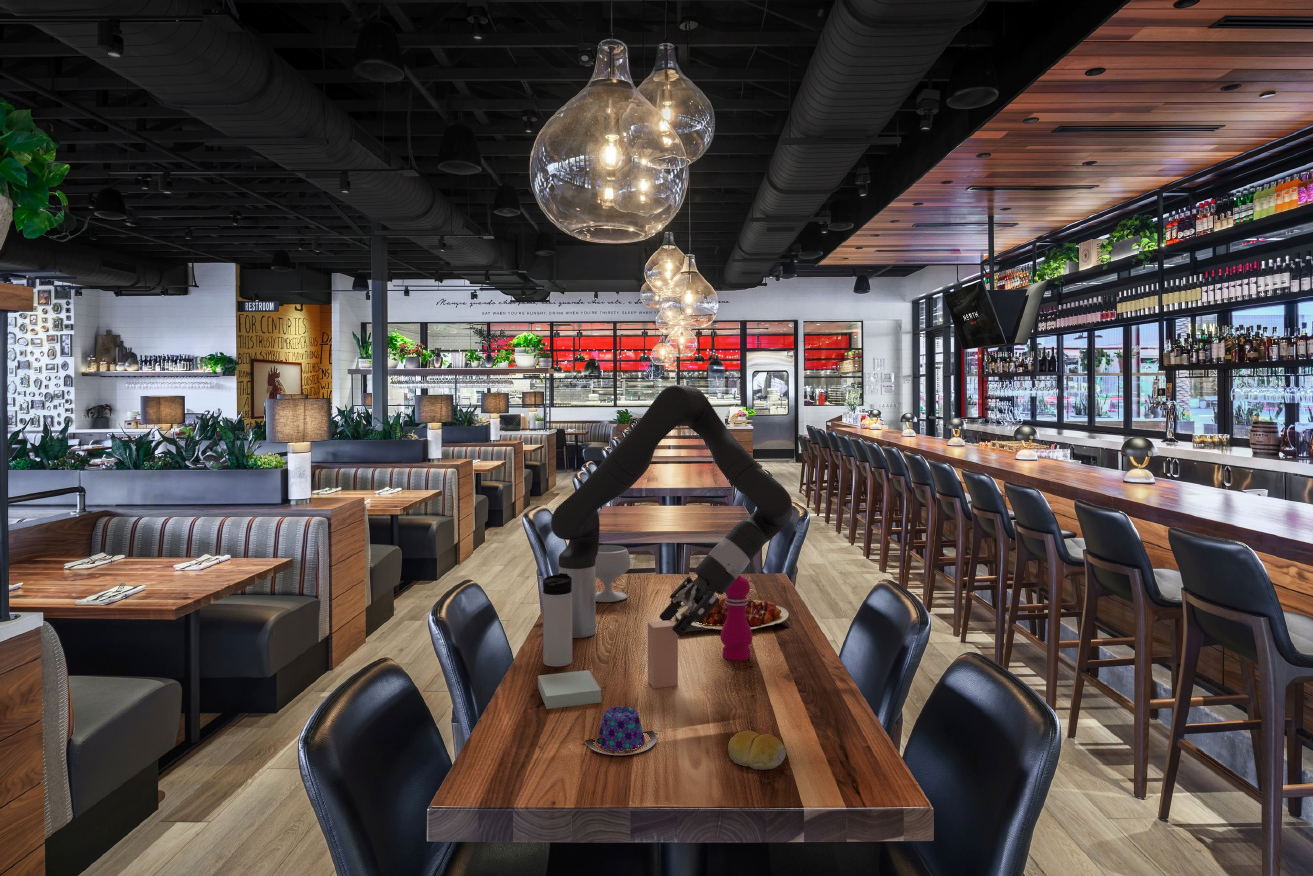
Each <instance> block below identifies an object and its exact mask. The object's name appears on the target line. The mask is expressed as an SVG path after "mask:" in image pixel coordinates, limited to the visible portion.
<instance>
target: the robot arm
mask: <svg viewBox="0 0 1313 876" xmlns="http://www.w3.org/2000/svg"><path fill="white" fill-rule="evenodd" d="M677 427H688V428H690V429H691V431H694V432H695V433H696V434H697V435H698V436H700V438H701V439H702V440H703V441H704V442H705V444H706V445H707V447H708V448H709V451H710V453H711V455H712V458H713V460H714V462H715V464H716V466H717V468H718V469H719V470H720V472H721V473H722V475H723V476H725V478H726V479H727V480H728V481H729V482H730V483H731V484H732V485H733V487H734V488H735V489H736V490H737V491H738V492H740V493H741V494H742V495H745V496H746V497H748V499H749V500H750V501H751V503H753V504H754V506H755V507H756V509H755V510H754V512H752V513H751V514H750V516H749V517H748V518H747V519H746V520H743V519H742V520H741V521H739V522H738V523H737V524H735V526H734V527H732V528H731V530H730V531H729V532H728V533H727V534H726V535H725V537H723V539H722V540H721V541H719V543H717V544H716V545H715V546H714V547H713V548H712V549H711V551H709V553H708V554H706V556H705V557H704V558H703V559H702V560H701V561H700V563H699V564H698V565H697V566H696V567H695V568H694V573H695V574H696V575H697V577H696V578H695V579H694V580H693V579H692V578H691V577H690V576H687V577H686V578H685V580H684V581H682V583H681V584H680V585H679V586H677V588H675V590H674V591H672V592H671V594H670V595H669V598H670V601H669V602H670V603H669V604H668V605H667V607H666V608H665V609H664V610H663V611H662V612H661V613H660V614H659V619H660V621H666V620H672V619H673V618H674V617H675V615H676V613H677V612H678V610H680V609H681V608H683V607H685V606H687V607H688V609H687V611H686V613H685V614H686V615H685V614H684V615H683V616H682V617H681V618H680V619H679V621H678V620H677V622H675V623H676V624H675V625H674V626H673V628H672V629H673V631H674V632H675V633H676V634H677V635H678V637H680V636H682V635H684V633H685V631H686V630H687V628H688V627H689V626H690V625H691V624H692V623H693V622H694V623H695V622H696V621H698V622H699V623H701V622H702V621H703V620H704V619H705V617H706V616H707V615H708V614H709V612H710V611H711V610H712V609H713V608H714V606H715V605H716V604H717V603H718V602H719V598H720V597H718V596H717V595H716V594H718V595H720V596H722V595H724V594H725V591H726V590H727V589H728V588H729V587H730V586H731V584H732V583H733V582H734V581H735V580H736V579H737V578H738V576H741V574H742V573H743V572H744V571H745V569H746V568H747V566H748V565H749V563H750V562H751V561H752V560H753V559H754V558H755V556H756V555H757V554H758V553H759V552H760V551H761V549H762V548H763V547H764V546H765V544H766V543H768V542H769V541H771V540H772V539H773V538H774V537H775V536H777V534H778V533H780V531H782V530H783V529H784V528H785V527H786V526H787V524H788V523H789V522H790V520H791V519H792V514H793V500H792V497H791V495H790V493H789V492H788V490H787V489H786V488H785V487H784V486H783V485H782V484H781V483H780V482H779V481H777V480H776V478H774V477H773V476H771V474H769V473H768V472H766V471H765V470H764V469H763V468H762V467H761V466H760V464H759V462H757V460H756V459H754V458H753V456H751V454H750V453H749V452H748V451H747V450H746V449H745V448H744V447H743V446H742V445H741V443H739V441H738V440H737V439H736V438H735V437H734V435H733V434H732V433H731V432H730V431H729V429H728V428H727V426H726V424H725V423H724V422H723V420H722V419H721V417H720V416H719V415H718V413H717V412H716V410H715V409H714V406H713V405H712V404H711V402H710V401H709V399H708V397H707V396H706V395H705V393H704V392H702V390H700V389H699V388H697V387H696V386H695V387H694V386H691V385H684V384H671V385H668V386H666V387H664V389H663V390H661V392H659V394H658V395H657V396H656V397H655V399H654V400H653V401H652V403H651V404H650V406H649V407H648V409H646V411H645V412H644V414H643V416H641V418H640V420H639V421H638V422H637V423H636V424H635V425H634V426H633V428H631V430H629V432H628V433H627V434H626V435H625V436H624V437H623V438H622V440H621V441H620V442H619V443H618V444H617V445H616V446H615V447H614V448H613V449H612V450H611V451H610V452H609V454H607V456H606V457H605V458H604V459H603V460H602V462H601V463H599V465H598V466H597V467H596V468H595V470H594V471H593V472H592V473H591V474H590V475H589V476H588V477H587V479H585V481H584V482H583V483H582V484H581V485H580V486H579V487H578V488H577V489H576V490H575V491H574V492H573V493H572V494H571V495H569V496H568V497H567V498H566V499H565V500H564V501H562V502H561V503H560V504H559V505H558V506H557V507H556V508H555V510H554V511H553V513H552V515H551V520H550V526H551V527H550V528H551V531H552V533H553V535H555V537H557V538H558V539H560V540H563V541H564V540H565V541H568V544H567V545H566V547H565V549H563V550H562V552H561V553H560V554H559V555H558V575H559V574H560V573H566V574H568V576H570V577H571V578H572V587H571V588H572V639H583V638H588V637H591V636H594V635H595V634H596V632H597V631H596V630H597V629H596V627H597V624H596V623H597V621H596V618H597V610H596V608H597V604H596V588H597V586H596V581H597V579H596V578H597V577H595V560H596V556H597V554H598V549H599V546H600V515H599V512H598V511H599V509H600V508H602V507H603V506H605V505H606V504H608V503H609V502H612V501H613V500H615V499H616V498H617V497H619V496H620V495H622V494H624V493H625V492H627V491H628V490H629V489H630V488H631V487H632V486H634V485H635V484H636V482H638V481H639V479H640V478H641V477H643V476H644V475H645V473H646V472H647V470H648V469H649V467H650V465H651V463H652V460H653V456H654V453H655V451H656V449H657V446H658V445H659V444H660V442H661V441H662V440H663V439H665V437H667V436H668V434H669V433H671V432H672V431H673V430H674V429H675V428H677ZM677 609H678V610H677ZM692 610H693V611H692ZM701 613H702V614H701ZM700 614H701V615H700Z"/></svg>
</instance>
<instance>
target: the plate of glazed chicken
mask: <svg viewBox="0 0 1313 876" xmlns="http://www.w3.org/2000/svg"><path fill="white" fill-rule="evenodd" d="M718 598H719V602H718V603H717V604H716V605H715V606H714V608H713V609H712V610H711V611H710V612H709V614H708V615H707V616H706V617H705V619H704V620H703V621H702V622H701V623H702V624H701V625H700V624H697V623H696V622H698V621H696V622H695V623H694V622H693V623H692V624H691V625H690V626H689V627H688V628H687V630H686V631H685V632H693V631H703V630H720V628H718V627H717V628H715V627H716V626H714V625H713V624H725V621H726V619H727V615H728V605H727V604H726V599H725V598H726V597H722V598H720V597H718ZM747 602H748V603H747V604H746V607H745V615H746V619H747V622H748V624H749V626H751V627H750V629H751V630H754V629H758V628H763V627H766V626H773V625H775V624H776V625H777V624H780V625H783V626H785V627H787V628H790V625H791V622H790V618H789V617H790V612H789V611H788V610H787V609H786V608H785V607H782V606H779V605H777V604H776V603H775V602H771V601H767V600H756V599H751V598H748V599H747ZM687 609H688V607H687V606H685V607H683V608H681V609H680V610H678V609H677V610H678V612H677V613H676V615H675V616H674V617H675V619H677V622H678V621H679V619H680V618H681V617H682V616H683V615H684V614H685V613H686V611H687ZM692 611H693V610H692ZM701 614H702V613H701ZM701 614H700V615H701ZM685 615H686V614H685ZM706 623H707V624H712V625H713V626H706V625H704V626H702V625H703V624H706ZM708 627H709V628H708ZM685 632H684V633H685Z"/></svg>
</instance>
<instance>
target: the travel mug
mask: <svg viewBox="0 0 1313 876" xmlns="http://www.w3.org/2000/svg"><path fill="white" fill-rule="evenodd" d="M571 587H572V578H571V577H570V576H568V574H566V573H560V574H559V573H558V574H553V575H548V576H546V577H545V578H544V579H543V580H542V628H543V629H542V638H543V639H542V643H543V646H542V649H543V650H542V651H543V654H542V656H543V657H542V659H543V665H545V666H549V667H564V666H565V667H566V666H569V665H570V664H572V662H573V638H572V588H571Z"/></svg>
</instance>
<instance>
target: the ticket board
mask: <svg viewBox="0 0 1313 876" xmlns="http://www.w3.org/2000/svg"><path fill="white" fill-rule="evenodd" d="M537 688H538V691H539V693H540V696H541V698H542V701H543V703H544V706H545V708H546V710H549V709H558V708H564V707H565V708H566V707H575V706H581V705H591V704H597V703H599V704H601V703H602V689H601V687H600V685H599V684H598V682H597V681H596V678H595V677H594V676H593V674H592V673H591V671H590V670H589V669H588V670H579V671H578V670H576V671H568V672H559V673H558V672H557V673H550V674H542V675H541V674H540V675H538V676H537Z"/></svg>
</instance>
